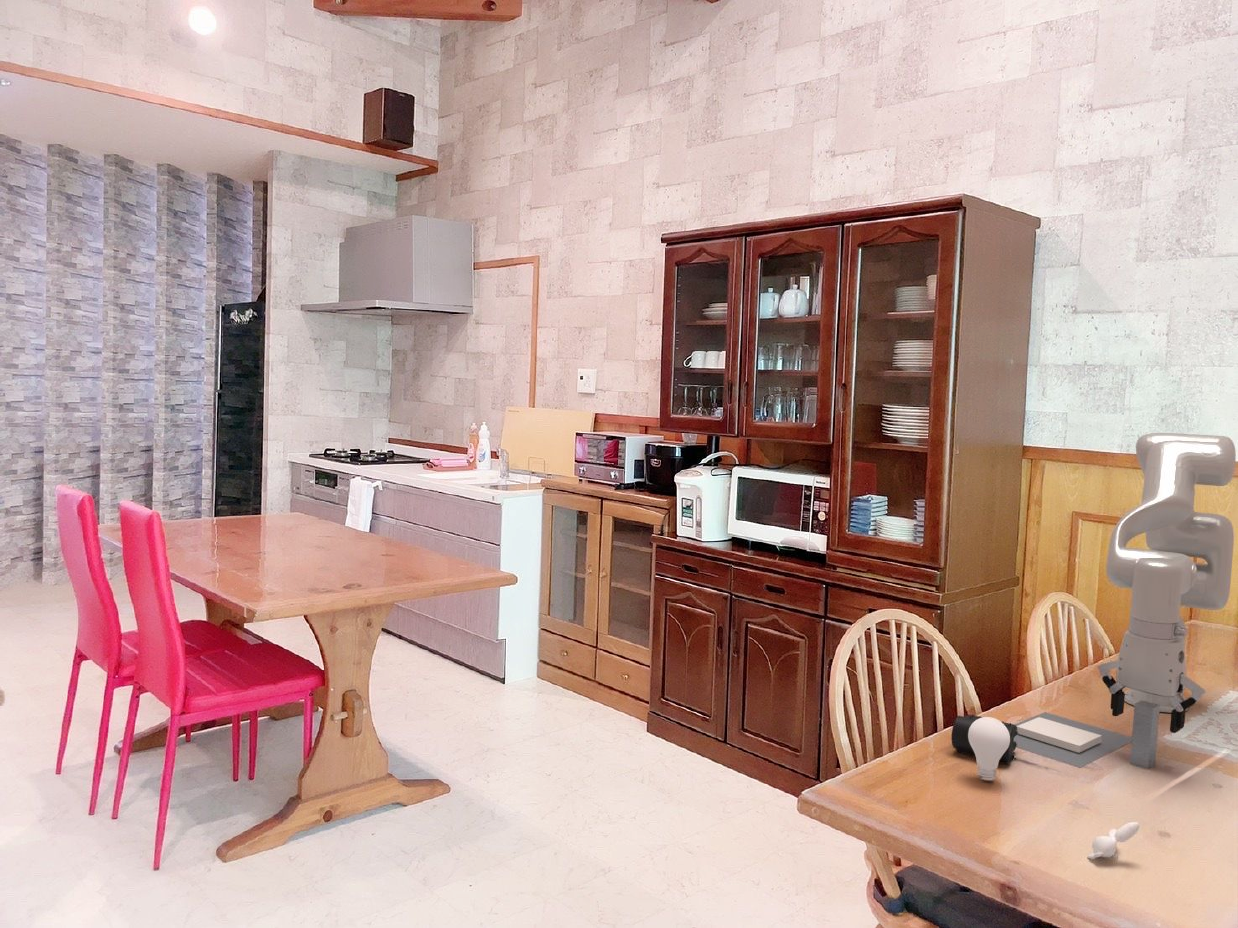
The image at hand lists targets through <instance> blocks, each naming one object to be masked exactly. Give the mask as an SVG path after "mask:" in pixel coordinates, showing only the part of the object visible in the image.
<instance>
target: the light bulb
mask: <svg viewBox="0 0 1238 928" xmlns="http://www.w3.org/2000/svg"><path fill="white" fill-rule="evenodd" d="M981 717H982V716H981ZM968 739H969V743H970V745H971V747H972V749H973V751H974V753H975V755H976V756H975V758H976V760H975V761H976V765H977V770H976V771H977V772H976V774H977V777H978V778H979V779H981V780H982V781H983V782H986V783H987V782H991V781H994V780H996V778H997V777H996V776H997V771H996V770H997V769H998V766H999V763H1000V762H999V760H1000V758H1001V757H1002V755H1003V754H1004V753H1005V751H1006V750H1007V749H1008V747H1009V744H1010V735H1009V732H1008V730H1007V728H1006V726H1005V725H1004V724H1003V723H1002V721H1001V720H999V719H997V718H996V717H990V716H983V717H982V718H979V719H977V720H976V721H974V722H973V723H972V725H971V726H970V728H969V732H968Z"/></svg>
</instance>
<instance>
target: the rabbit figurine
mask: <svg viewBox="0 0 1238 928" xmlns="http://www.w3.org/2000/svg"><path fill="white" fill-rule="evenodd" d="M1139 829H1140V823H1139V822H1137V821H1134V822H1133V821H1132V822H1128V823H1125V824H1124V825H1122V826H1120V827H1119V828H1118V829H1116V828H1112V829H1110V830H1109V831H1108V832H1107V835H1101V836H1095V837H1094V839H1093V840H1092V842H1091V843H1092V844H1091V848H1092V850H1093V851H1092V853H1090V854H1087V859H1091V860H1093V859H1095V858H1099V857H1102V858H1110V857H1113V858H1115V859H1117V860H1118V859H1119V856H1117V854H1115V853H1116V852H1117V844H1118V842H1119V843H1125V842H1126V841H1127V842H1128V840H1130V839H1131V838H1133V837H1134V836H1135V835H1136V834H1137V832H1138V831H1139Z"/></svg>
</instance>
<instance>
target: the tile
mask: <svg viewBox="0 0 1238 928" xmlns="http://www.w3.org/2000/svg"><path fill="white" fill-rule="evenodd" d="M1017 732H1018V734H1020V735H1022V736H1025V737H1028V738H1032V739H1035V740H1038V741H1041V742H1044V743H1047V744H1051V745H1054V746H1057V747H1060V748H1063V749H1067V750H1070V751H1073V752H1076V753H1080V752H1082V751H1084V750H1086V749H1088V748H1090V747H1092V746H1094V745H1096V744H1099V743H1101V738H1102V735H1098V734H1095V733H1092V732H1088V731H1085V730H1081V729H1078V728H1075V727H1071V726H1068V725H1064V724H1061V723H1058V722H1054V721H1051V720H1047V719H1044V718H1041V717H1038V718H1036V719H1033V720H1031V721H1028V722H1026V723H1023V724H1021V725H1018V726H1017Z"/></svg>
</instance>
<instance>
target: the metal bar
mask: <svg viewBox="0 0 1238 928" xmlns="http://www.w3.org/2000/svg"><path fill="white" fill-rule="evenodd" d="M1133 707H1134V708H1133V710H1134V711H1133V722H1132V733H1131V737H1132V742H1131V745H1130V746H1131V747H1130V758H1129V760H1130V761H1129V764H1130V765H1131V766H1135V767H1139V768H1141V769H1144V770H1150V769H1151V768H1154V767H1155V766H1156V758H1157V748H1158V747H1157V745H1158V744H1157V743H1158V733H1159V721H1160V712H1159V711H1160V705H1158V704H1154V703H1150V702H1147V701H1143V700H1142V701H1139V702H1137V703H1135V706H1133Z"/></svg>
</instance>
